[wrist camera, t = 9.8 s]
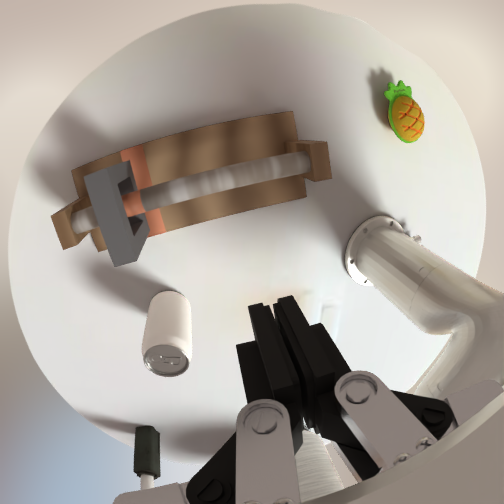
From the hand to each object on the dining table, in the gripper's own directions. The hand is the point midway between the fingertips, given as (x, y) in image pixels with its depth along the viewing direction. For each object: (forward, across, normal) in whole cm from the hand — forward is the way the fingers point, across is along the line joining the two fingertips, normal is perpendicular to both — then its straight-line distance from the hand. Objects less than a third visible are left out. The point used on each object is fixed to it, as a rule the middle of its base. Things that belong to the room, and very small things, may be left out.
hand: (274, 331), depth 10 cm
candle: (+28, +31, +50) cm, 65 cm away
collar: (+24, +11, -3) cm, 27 cm away
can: (+28, +12, +15) cm, 34 cm away
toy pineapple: (+29, -29, -9) cm, 42 cm away
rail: (+28, +4, -3) cm, 28 cm away
